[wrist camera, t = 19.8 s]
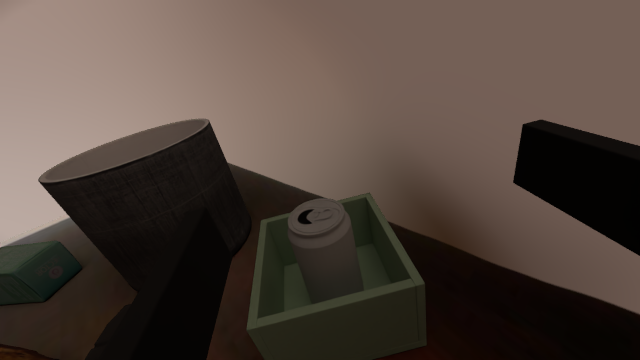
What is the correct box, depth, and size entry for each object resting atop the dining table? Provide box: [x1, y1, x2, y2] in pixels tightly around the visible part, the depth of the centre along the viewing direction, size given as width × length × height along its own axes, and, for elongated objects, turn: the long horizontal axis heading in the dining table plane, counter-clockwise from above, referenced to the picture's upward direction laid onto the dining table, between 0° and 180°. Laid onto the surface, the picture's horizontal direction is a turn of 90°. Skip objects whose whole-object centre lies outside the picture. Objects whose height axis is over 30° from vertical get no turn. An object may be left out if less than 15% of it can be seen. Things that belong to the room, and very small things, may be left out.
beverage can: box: [288, 198, 364, 304], centre depth 27 cm, size 6×6×12 cm
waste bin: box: [247, 193, 426, 360], centre depth 28 cm, size 15×15×9 cm
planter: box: [39, 119, 251, 291], centre depth 42 cm, size 22×22×20 cm
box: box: [0, 241, 82, 305], centre depth 44 cm, size 7×14×8 cm, turn 85°
